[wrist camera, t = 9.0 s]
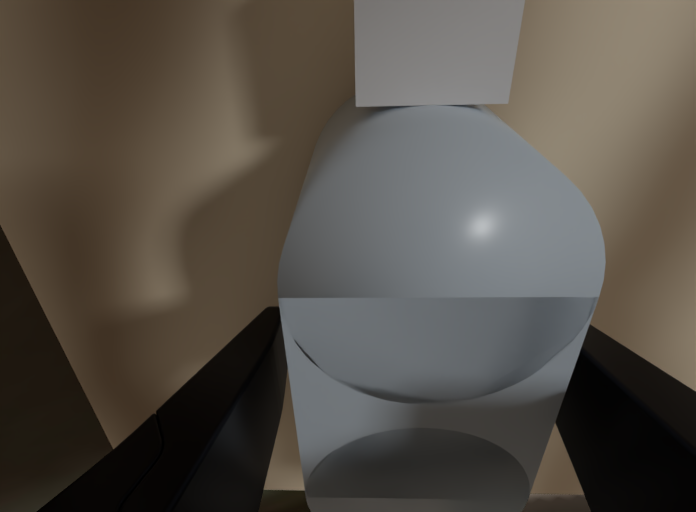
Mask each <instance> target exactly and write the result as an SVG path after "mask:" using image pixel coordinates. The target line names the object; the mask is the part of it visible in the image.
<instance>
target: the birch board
mask: <svg viewBox="0 0 696 512" xmlns="http://www.w3.org/2000/svg"><path fill="white" fill-rule="evenodd" d="M354 95H355V31H354V0H0V225H1V227H2V229H3V231H4V233H5V235H6V237H7V239H8V241H9V243H10V245H11V247H12V249H13V251H14V253H15V255H16V257H17V259H18V261H19V263H20V265H21V267H22V269H23V271H24V273H25V275H26V277H27V279H28V281H29V283H30V285H31V287H32V289H33V291H34V293H35V295H36V297H37V299H38V301H39V303H40V305H41V307H42V309H43V311H44V313H45V315H46V317H47V319H48V321H49V323H50V325H51V327H52V329H53V331H54V332H55V334H56V336H57V338H58V340H59V342H60V344H61V346H62V348H63V350H64V352H65V354H66V356H67V358H68V360H69V362H70V364H71V366H72V368H73V370H74V372H75V374H76V376H77V378H78V380H79V382H80V384H81V386H82V388H83V390H84V392H85V394H86V396H87V398H88V400H89V402H90V404H91V406H92V408H93V410H94V412H95V414H96V416H97V418H98V420H99V422H100V424H101V426H102V428H103V430H104V432H105V434H106V436H107V438H108V440H109V442H110V444H111V446H112V448H113V449H114V448H115V447H117V446H118V445H119V444H120V443H121V442H122V441H123V440H124V439H126V438H127V437H128V436H129V435H130V434H131V433H132V432H133V431H134V430H136V429H137V428H138V427H139V426H140V425H141V424H142V423H143V422H144V421H145V420H146V419H147V418H148V417H150V416H151V415H152V414H153V413H155V414H156V410H157V409H158V408H159V407H160V406H161V405H163V404H164V403H165V402H166V401H167V400H168V399H169V398H170V397H171V396H172V395H173V394H174V393H175V392H176V391H177V390H179V389H180V388H181V387H182V386H183V385H184V384H185V383H186V382H187V381H188V380H189V379H190V378H191V377H192V376H193V375H195V374H196V373H197V372H198V371H199V370H200V369H201V368H202V367H203V366H204V365H205V364H206V363H207V362H208V361H209V360H211V359H212V358H213V357H214V356H215V355H216V354H217V353H218V352H219V351H220V350H221V349H222V348H223V347H224V346H225V345H227V344H228V343H229V342H230V341H231V340H232V339H233V338H234V337H235V336H236V335H237V334H238V333H239V332H240V331H241V330H243V329H244V328H245V327H246V326H247V325H248V324H249V323H250V322H251V321H252V320H253V319H254V318H255V317H256V316H257V315H259V314H260V313H261V312H262V311H263V310H264V309H265V308H266V307H269V306H279V301H278V287H277V278H278V268H279V262H280V258H281V254H282V250H283V247H284V243H285V240H286V237H287V234H288V231H289V228H290V224H291V221H292V218H293V215H294V212H295V209H296V205H297V202H298V199H299V196H300V193H301V189H302V186H303V183H304V180H305V177H306V174H307V170H308V167H309V164H310V161H311V158H312V155H313V151H314V148H315V145H316V143H317V140H318V138H319V136H320V133H321V132H322V130H323V128H324V127H325V125H326V123H327V121H328V120H329V119H330V118H331V116H332V115H333V114H334V113H335V111H336V110H337V109H338V108H339V107H340V106H342V105H343V104H344V103H345V102H346V101H347V100H348V99H350V98H351V97H352V96H354ZM484 105H486V106H487V107H488V108H489V109H490V110H491V111H492V112H494V113H495V114H496V115H497V116H498V117H499V118H500V119H502V120H503V121H504V122H505V123H506V124H507V125H508V126H509V127H511V128H512V129H513V130H514V131H515V132H516V133H517V134H519V135H520V136H521V137H522V138H523V139H524V140H525V141H527V142H528V143H529V144H530V145H531V146H532V147H533V148H535V149H536V150H537V151H538V152H539V153H540V154H541V155H543V156H544V157H545V158H546V159H547V160H548V161H549V162H551V163H552V164H553V165H554V166H555V167H556V168H557V169H559V170H560V171H561V172H562V173H563V174H564V175H565V176H566V177H567V178H568V179H569V180H570V181H571V182H572V183H573V184H574V185H575V186H576V187H577V188H578V189H579V190H580V191H581V192H582V194H583V195H584V197H585V198H586V200H587V201H588V202H589V204H590V205H591V207H592V209H593V211H594V213H595V215H596V218H597V220H598V222H599V224H600V227H601V231H602V235H603V240H604V244H605V259H606V263H605V273H604V281H603V284H602V288H601V292H600V296H599V299H598V302H597V304H596V307H595V310H594V313H593V316H592V319H591V322H590V324H591V325H592V326H594V327H595V328H597V329H599V330H600V331H602V332H603V333H605V334H606V335H608V336H610V337H611V338H613V339H614V340H616V341H617V342H619V343H621V344H622V345H624V346H625V347H627V348H628V349H630V350H632V351H633V352H635V353H636V354H638V355H639V356H641V357H643V358H644V359H646V360H647V361H649V362H650V363H652V364H654V365H655V366H657V367H658V368H660V369H661V370H663V371H664V372H666V373H668V374H669V375H671V376H672V377H674V378H675V379H677V380H679V381H680V382H682V383H683V384H685V385H686V386H688V387H690V388H691V389H693V390H694V391H696V0H525V4H524V10H523V16H522V22H521V28H520V34H519V40H518V47H517V53H516V59H515V65H514V71H513V77H512V83H511V89H510V95H509V101H508V104H484ZM264 490H305V488H304V481H303V473H302V466H301V459H300V452H299V445H298V437H297V430H296V423H295V416H294V409H293V401H292V394H291V387H290V380H289V373H288V370H287V378H286V387H285V396H284V403H283V410H282V414H281V419H280V423H279V427H278V432H277V436H276V440H275V444H274V448H273V452H272V456H271V461H270V465H269V469H268V473H267V477H266V481H265V485H264ZM530 494H578V495H584V492H583V490H582V487H581V485H580V483H579V480H578V478H577V475H576V473H575V470H574V468H573V465H572V463H571V460H570V458H569V455H568V453H567V450H566V448H565V446H564V443H563V441H562V438H561V436H560V433H559V431H558V428H557V426H556V423H555V424H554V427H553V430H552V433H551V435H550V438H549V441H548V444H547V447H546V450H545V452H544V455H543V458H542V461H541V464H540V467H539V470H538V472H537V475H536V478H535V481H534V484H533V487H532V489H531V492H530Z"/></svg>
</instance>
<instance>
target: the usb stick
mask: <svg viewBox="0 0 696 512" xmlns="http://www.w3.org/2000/svg"><path fill="white" fill-rule="evenodd" d="M524 4H525V0H354V31H355V95H354V96H352V97H351V98H350V99H348V100H347V101H346V102H345V103H344V104H343V105H342V106H340V107H339V108H338V109H337V110H336V111H335V113H334V114H333V115H332V116H331V118H330V119H329V120H328V121H327V123H326V125H325V127H324V128H323V130H322V132H321V133H320V136H319V138H318V140H317V143H316V145H315V148H314V151H313V155H312V158H311V161H310V164H309V167H308V170H307V174H306V177H305V180H304V183H303V186H302V189H301V193H300V196H299V199H298V202H297V205H296V209H295V212H294V215H293V218H292V221H291V224H290V228H289V231H288V234H287V237H286V240H285V243H284V247H283V250H282V254H281V258H280V262H279V268H278V278H277V287H278V301H279V308H280V315H281V322H282V330H283V337H284V344H285V351H286V358H287V365H288V373H289V380H290V387H291V394H292V401H293V409H294V416H295V423H296V430H297V437H298V445H299V452H300V459H301V466H302V473H303V481H304V488H305V495H306V500H307V504H308V506H309V508H310V511H311V512H522V510H523V509H524V507H525V505H526V503H527V501H528V498H529V495H530V492H531V489H532V487H533V484H534V481H535V478H536V475H537V472H538V470H539V467H540V464H541V461H542V458H543V455H544V452H545V450H546V447H547V444H548V441H549V438H550V435H551V433H552V430H553V427H554V424H555V421H556V418H557V415H558V413H559V410H560V407H561V404H562V401H563V398H564V396H565V393H566V390H567V387H568V384H569V381H570V378H571V376H572V373H573V370H574V367H575V364H576V361H577V359H578V356H579V353H580V350H581V347H582V344H583V341H584V339H585V336H586V333H587V330H588V327H589V324H590V322H591V319H592V316H593V313H594V310H595V307H596V304H597V302H598V299H599V296H600V292H601V288H602V284H603V281H604V273H605V263H606V259H605V244H604V240H603V235H602V231H601V227H600V224H599V222H598V220H597V218H596V215H595V213H594V211H593V209H592V207H591V205H590V204H589V202H588V201H587V200H586V198H585V197H584V195H583V194H582V192H581V191H580V190H579V189H578V188H577V187H576V186H575V185H574V184H573V183H572V182H571V181H570V180H569V179H568V178H567V177H566V176H565V175H564V174H563V173H562V172H561V171H560V170H559V169H557V168H556V167H555V166H554V165H553V164H552V163H551V162H549V161H548V160H547V159H546V158H545V157H544V156H543V155H541V154H540V153H539V152H538V151H537V150H536V149H535V148H533V147H532V146H531V145H530V144H529V143H528V142H527V141H525V140H524V139H523V138H522V137H521V136H520V135H519V134H517V133H516V132H515V131H514V130H513V129H512V128H511V127H509V126H508V125H507V124H506V123H505V122H504V121H503V120H502V119H500V118H499V117H498V116H497V115H496V114H495V113H494V112H492V111H491V110H490V109H489V108H488V107H487V106H486V105H484V104H508V101H509V95H510V89H511V83H512V77H513V71H514V65H515V59H516V53H517V47H518V40H519V34H520V28H521V22H522V16H523V10H524Z"/></svg>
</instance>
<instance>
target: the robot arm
mask: <svg viewBox="0 0 696 512" xmlns="http://www.w3.org/2000/svg"><path fill="white" fill-rule="evenodd" d="M287 370H288V365H287V358H286V351H285V344H284V337H283V330H282V322H281V315H280V308H279V306H269V307H266V308H265V309H264V310H263V311H262V312H261V313H260V314H259V315H257V316H256V317H255V318H254V319H253V320H252V321H251V322H250V323H249V324H248V325H247V326H246V327H245V328H244V329H243V330H241V331H240V332H239V333H238V334H237V335H236V336H235V337H234V338H233V339H232V340H231V341H230V342H229V343H228V344H227V345H225V346H224V347H223V348H222V349H221V350H220V351H219V352H218V353H217V354H216V355H215V356H214V357H213V358H212V359H211V360H209V361H208V362H207V363H206V364H205V365H204V366H203V367H202V368H201V369H200V370H199V371H198V372H197V373H196V374H195V375H193V376H192V377H191V378H190V379H189V380H188V381H187V382H186V383H185V384H184V385H183V386H182V387H181V388H180V389H179V390H177V391H176V392H175V393H174V394H173V395H172V396H171V397H170V398H169V399H168V400H167V401H166V402H165V403H164V404H163V405H161V406H160V407H159V408H158V409H157V410H156V414H155V413H153V414H152V415H151V416H150V417H148V418H147V419H146V420H145V421H144V422H143V423H142V424H141V425H140V426H139V427H138V428H137V429H136V430H134V431H133V432H132V433H131V434H130V435H129V436H128V437H127V438H126V439H124V440H123V441H122V442H121V443H120V444H119V445H118V446H117V447H115V448H114V449H113V450H112V451H111V452H110V453H108V454H107V455H106V456H105V457H104V458H102V459H101V460H100V461H99V462H98V463H96V464H95V465H94V466H93V467H92V468H90V469H89V470H88V471H87V472H85V473H84V474H83V475H82V476H81V477H79V478H78V479H77V480H76V481H74V482H73V483H72V484H71V485H69V486H68V487H67V488H66V489H64V490H63V491H62V492H60V493H59V494H58V495H57V496H55V497H54V498H53V499H52V500H50V501H49V502H48V503H47V504H45V505H44V506H43V507H42V508H40V509H39V510H38V511H37V512H258V510H259V506H260V502H261V498H262V494H263V490H264V485H265V481H266V477H267V473H268V469H269V465H270V461H271V456H272V452H273V448H274V444H275V440H276V436H277V432H278V427H279V423H280V419H281V414H282V410H283V403H284V396H285V387H286V378H287ZM555 423H556V426H557V428H558V431H559V433H560V436H561V438H562V441H563V443H564V446H565V448H566V450H567V453H568V455H569V458H570V460H571V463H572V465H573V468H574V470H575V473H576V475H577V478H578V480H579V483H580V485H581V487H582V490H583V492H584V495H585V497H586V500H587V502H588V505H589V507H590V510H591V512H696V391H694V390H693V389H691V388H690V387H688V386H686V385H685V384H683V383H682V382H680V381H679V380H677V379H675V378H674V377H672V376H671V375H669V374H668V373H666V372H664V371H663V370H661V369H660V368H658V367H657V366H655V365H654V364H652V363H650V362H649V361H647V360H646V359H644V358H643V357H641V356H639V355H638V354H636V353H635V352H633V351H632V350H630V349H628V348H627V347H625V346H624V345H622V344H621V343H619V342H617V341H616V340H614V339H613V338H611V337H610V336H608V335H606V334H605V333H603V332H602V331H600V330H599V329H597V328H595V327H594V326H592V325H591V324H589V327H588V330H587V333H586V336H585V339H584V341H583V344H582V347H581V350H580V353H579V356H578V359H577V361H576V364H575V367H574V370H573V373H572V376H571V378H570V381H569V384H568V387H567V390H566V393H565V396H564V398H563V401H562V404H561V407H560V410H559V413H558V415H557V418H556V421H555Z"/></svg>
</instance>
